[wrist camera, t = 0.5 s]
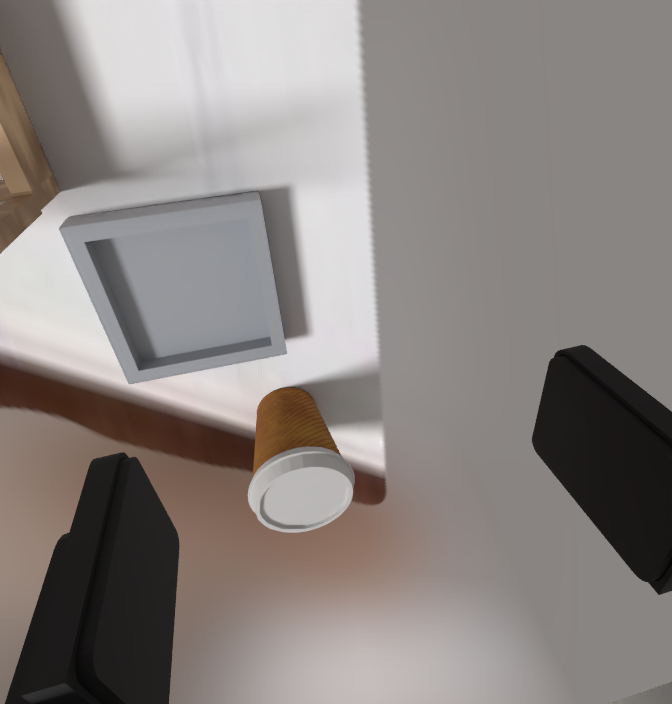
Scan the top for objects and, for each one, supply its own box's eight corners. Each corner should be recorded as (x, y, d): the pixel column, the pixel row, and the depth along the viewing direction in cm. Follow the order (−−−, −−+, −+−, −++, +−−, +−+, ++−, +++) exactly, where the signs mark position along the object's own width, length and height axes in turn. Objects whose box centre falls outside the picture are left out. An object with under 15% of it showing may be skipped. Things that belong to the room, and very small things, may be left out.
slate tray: (68, 217, 32) (58, 228, 30) (258, 190, 34) (260, 199, 32) (133, 367, 40) (129, 384, 38) (283, 339, 42) (287, 353, 40)
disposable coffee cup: (222, 417, 46) (224, 514, 36) (285, 358, 44) (305, 446, 34) (287, 453, 51) (304, 547, 42) (346, 402, 49) (379, 489, 39)
